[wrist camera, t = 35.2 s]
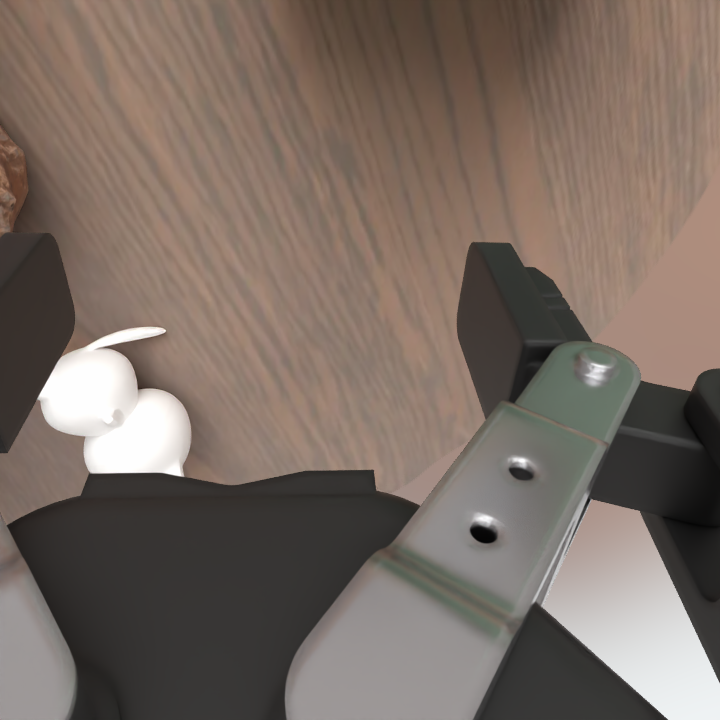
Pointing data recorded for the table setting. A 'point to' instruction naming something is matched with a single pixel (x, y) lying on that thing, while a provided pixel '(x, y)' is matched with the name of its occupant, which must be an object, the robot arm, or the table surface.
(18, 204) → the decorative rock
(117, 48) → the table surface
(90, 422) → the cat figurine
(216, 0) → the table surface
